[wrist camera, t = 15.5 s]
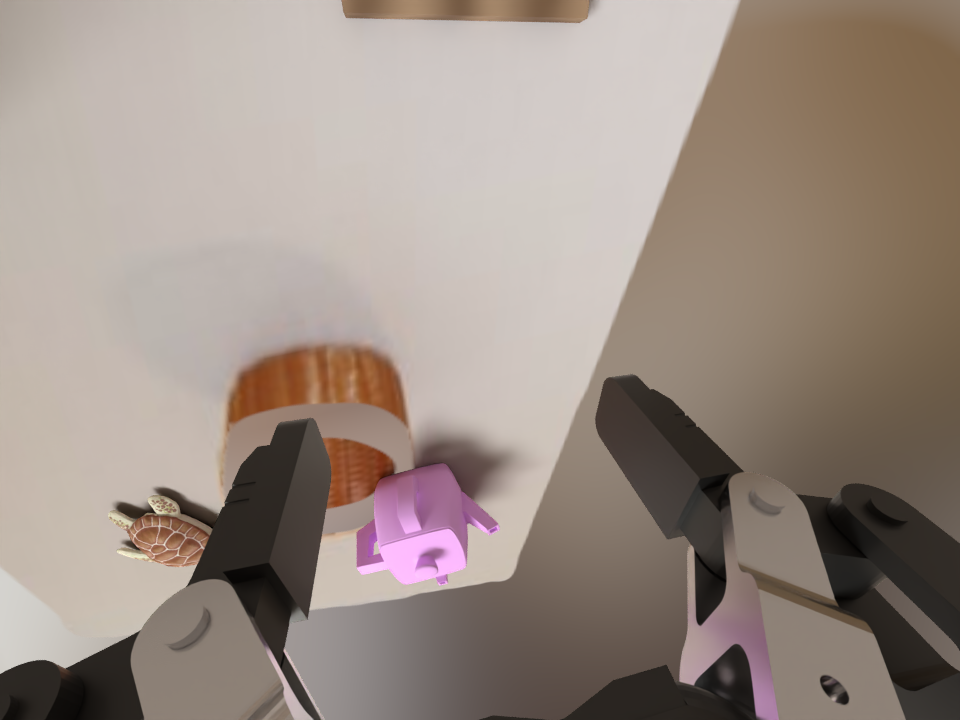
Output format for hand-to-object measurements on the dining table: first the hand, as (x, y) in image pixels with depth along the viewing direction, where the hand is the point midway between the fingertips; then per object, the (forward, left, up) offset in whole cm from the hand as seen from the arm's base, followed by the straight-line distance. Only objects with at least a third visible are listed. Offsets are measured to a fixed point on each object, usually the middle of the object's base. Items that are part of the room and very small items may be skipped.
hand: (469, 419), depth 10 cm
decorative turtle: (-39, -42, -30) cm, 64 cm away
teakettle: (-4, -44, -30) cm, 53 cm away
